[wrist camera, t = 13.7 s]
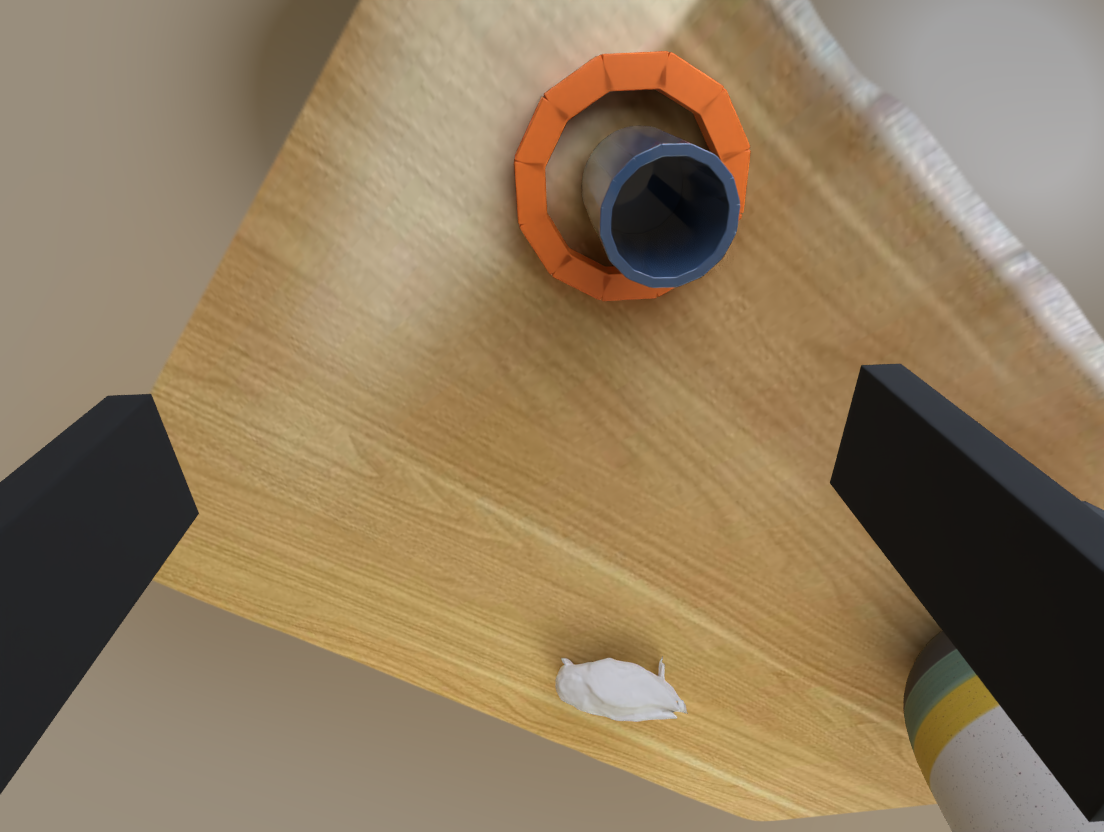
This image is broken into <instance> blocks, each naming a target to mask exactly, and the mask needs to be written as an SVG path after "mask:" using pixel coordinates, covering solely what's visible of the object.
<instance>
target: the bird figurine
mask: <svg viewBox="0 0 1104 832" xmlns="http://www.w3.org/2000/svg"><path fill="white" fill-rule="evenodd" d="M662 659H663V656H662V658H661V659H660V662H659V671H658V676H657V675H655V674H653V673H652V672H650V671H647V670H646V669H644V668H643V667H641V666H639V665H637V664H635V663H631V662H624V661H618V660H615V659H612V658H606V659H602V660H598V661H595V662H586V663H582V664H576V665H574V664H573V663H572V662H571V661H570V660H569V659H567V658H561V660H562V662H563V663H564V665H563V666H562V667H561V668H560V669H559V672H558V674H557V677H556V691H557V693H558V695H559V697H560V699H561V700H562V701H564V702H566V703H568V704H570V705H573V706H574V707H576V708H577V709H578V710H581V711H584V712H587V713H590V714H594V715H600V716H605V717H608V718H610V719H612V720H617V721H635V722H637V721H643V720H653V719H677V716H676V715H674V714H673V712H675V711H678V712H684V713H687V710H686V705H685V704H684V702H683V700H681V699H680V698H679V696H678V694H677V693H676V692H675V690H674V688H673V687H672V686H671V685H670V684H669V683H667V682H666V681H665V678H664V669H665V668H664V666H665V663H664V664H663V663H662ZM676 701H678V702H676ZM687 714H688V713H687Z"/></svg>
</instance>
